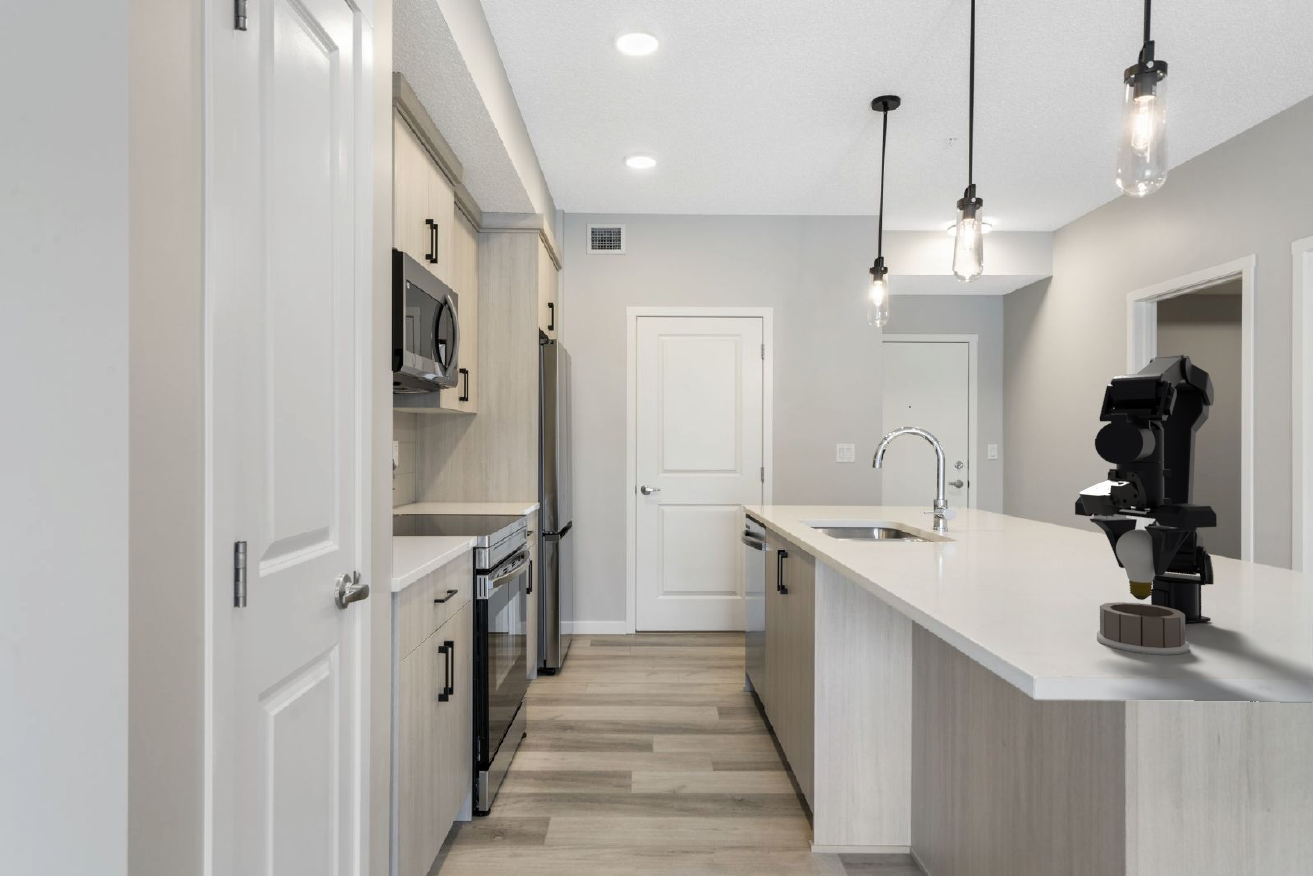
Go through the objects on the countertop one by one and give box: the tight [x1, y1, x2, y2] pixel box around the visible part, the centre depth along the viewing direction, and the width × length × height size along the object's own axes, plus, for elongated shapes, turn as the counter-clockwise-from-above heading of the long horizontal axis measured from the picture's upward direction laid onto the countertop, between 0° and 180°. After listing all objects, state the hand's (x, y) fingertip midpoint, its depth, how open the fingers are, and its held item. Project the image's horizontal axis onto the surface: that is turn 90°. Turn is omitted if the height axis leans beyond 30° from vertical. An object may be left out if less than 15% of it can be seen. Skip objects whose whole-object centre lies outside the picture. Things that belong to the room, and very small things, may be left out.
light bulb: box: [1116, 528, 1155, 601], centre depth 106 cm, size 6×6×10 cm
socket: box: [1096, 601, 1190, 656], centre depth 106 cm, size 11×11×5 cm
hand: (1140, 571), depth 106 cm, fingers closed on light bulb, 6 cm apart
